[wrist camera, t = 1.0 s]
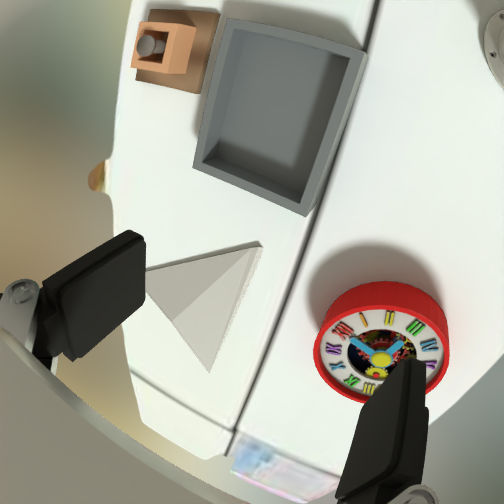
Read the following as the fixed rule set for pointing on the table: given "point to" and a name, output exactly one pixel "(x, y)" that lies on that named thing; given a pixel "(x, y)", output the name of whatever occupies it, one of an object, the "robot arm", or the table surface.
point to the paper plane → (203, 297)
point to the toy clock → (380, 337)
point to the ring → (174, 51)
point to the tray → (277, 111)
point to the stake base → (198, 54)
